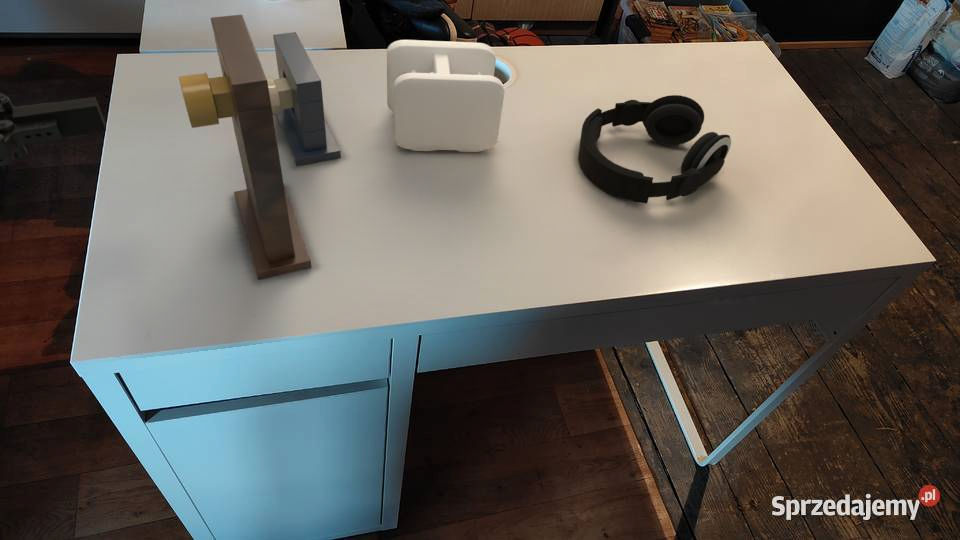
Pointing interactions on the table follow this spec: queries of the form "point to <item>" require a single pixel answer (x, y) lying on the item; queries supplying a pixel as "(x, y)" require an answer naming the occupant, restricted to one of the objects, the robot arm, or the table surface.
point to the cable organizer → (443, 95)
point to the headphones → (664, 124)
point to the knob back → (280, 94)
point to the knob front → (206, 99)
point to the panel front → (258, 156)
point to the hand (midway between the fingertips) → (100, 114)
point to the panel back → (303, 105)
